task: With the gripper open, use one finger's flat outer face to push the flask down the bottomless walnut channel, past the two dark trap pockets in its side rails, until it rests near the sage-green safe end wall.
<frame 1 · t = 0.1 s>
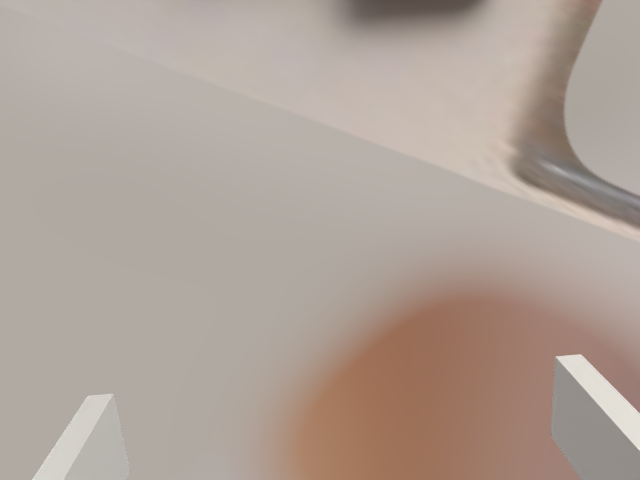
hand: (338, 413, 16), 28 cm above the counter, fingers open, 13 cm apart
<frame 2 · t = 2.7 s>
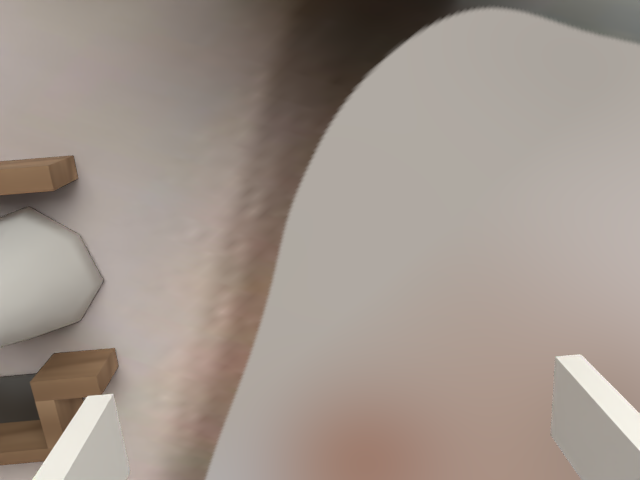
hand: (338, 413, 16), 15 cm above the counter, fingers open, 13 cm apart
flask: (35, 271, 30), on the counter
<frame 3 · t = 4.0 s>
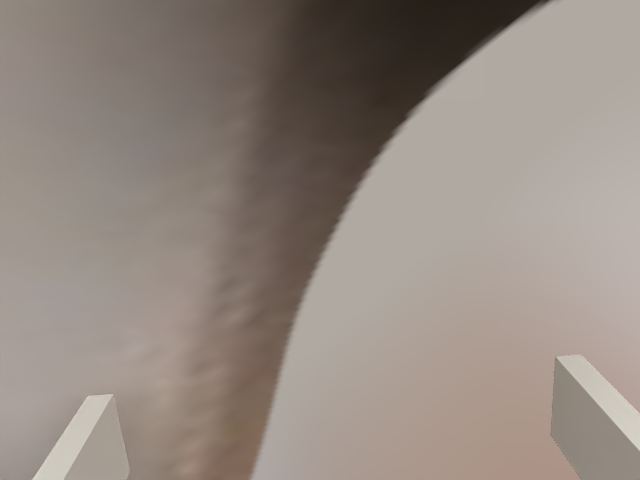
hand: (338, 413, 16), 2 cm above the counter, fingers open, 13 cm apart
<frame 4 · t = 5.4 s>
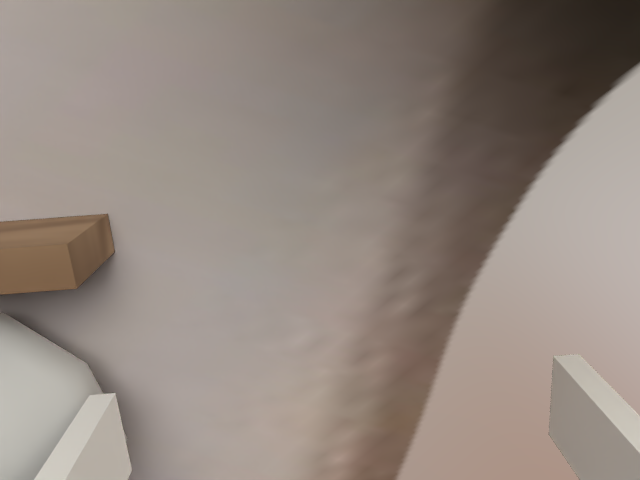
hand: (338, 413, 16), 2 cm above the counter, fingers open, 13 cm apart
flask: (20, 408, 18), on the counter, touching gripper
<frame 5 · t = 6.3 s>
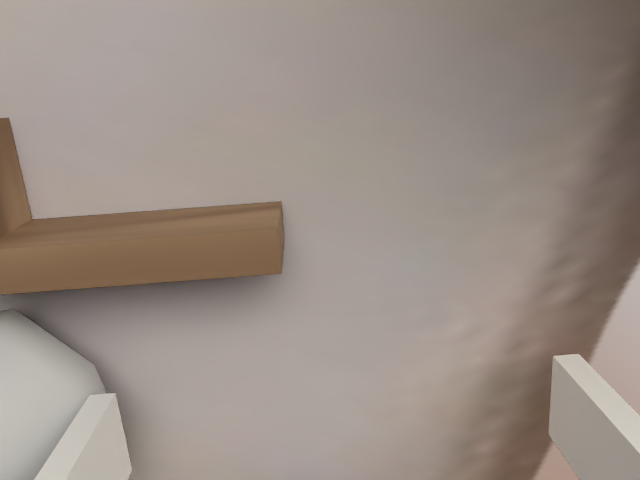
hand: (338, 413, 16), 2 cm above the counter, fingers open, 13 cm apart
flask: (22, 404, 18), on the counter, touching gripper
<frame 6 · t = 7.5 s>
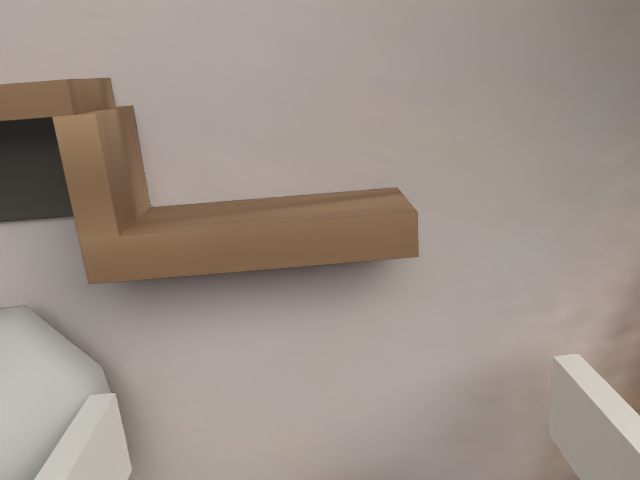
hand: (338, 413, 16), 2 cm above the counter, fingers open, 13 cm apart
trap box: (91, 393, 18), on the counter
flask: (24, 399, 18), on the counter, touching gripper
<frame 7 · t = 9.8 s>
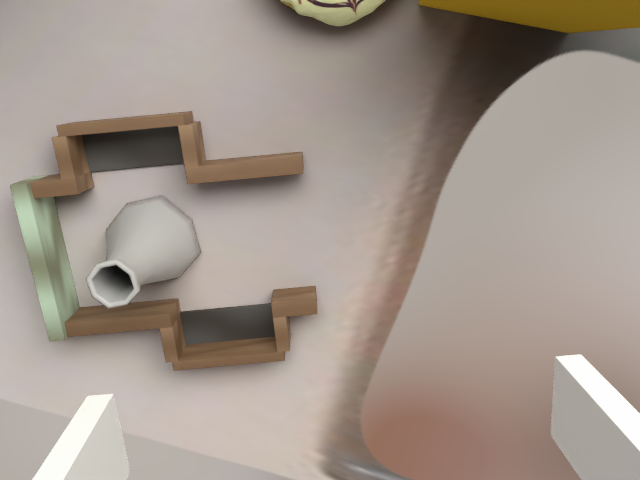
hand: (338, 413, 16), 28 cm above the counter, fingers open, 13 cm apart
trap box: (180, 240, 44), on the counter
flask: (155, 239, 44), on the counter
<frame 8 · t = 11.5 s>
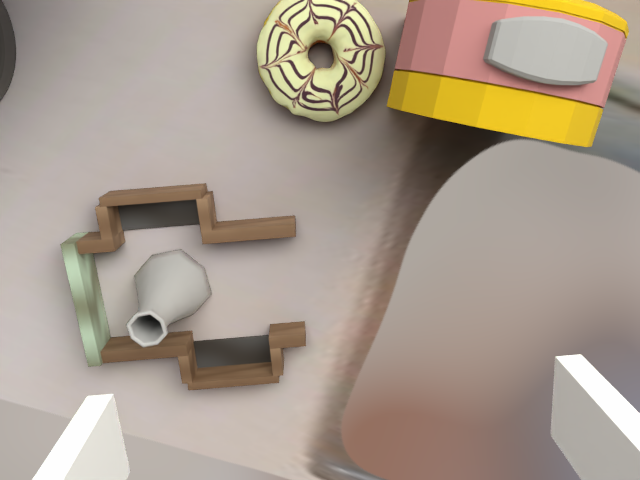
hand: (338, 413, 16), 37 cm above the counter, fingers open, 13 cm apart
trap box: (194, 284, 54), on the counter
flask: (174, 283, 54), on the counter
decorated donut: (319, 56, 48), on the counter
alarm clock: (459, 68, 49), on the counter
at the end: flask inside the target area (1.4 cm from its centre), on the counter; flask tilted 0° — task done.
